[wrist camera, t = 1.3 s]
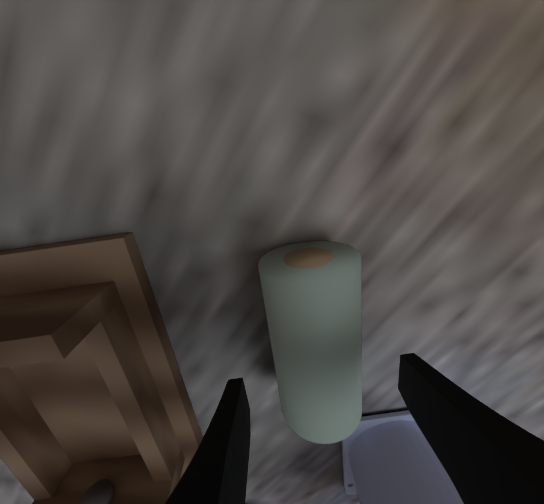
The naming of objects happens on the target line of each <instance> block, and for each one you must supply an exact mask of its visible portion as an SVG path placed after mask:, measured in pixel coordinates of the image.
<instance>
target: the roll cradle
mask: <svg viewBox="0 0 544 504" xmlns="http://www.w3.org/2000/svg"><path fill="white" fill-rule="evenodd" d="M202 439H203V437H202V434H201V431H200V428H199V425H198V422H197V419H196V416H195V413H194V410H193V408H192V405H191V402H190V399H189V396H188V393H187V390H186V387H185V384H184V381H183V379H182V376H181V373H180V370H179V367H178V364H177V361H176V358H175V355H174V352H173V349H172V347H171V344H170V341H169V338H168V335H167V332H166V329H165V326H164V323H163V320H162V318H161V315H160V312H159V309H158V306H157V303H156V300H155V297H154V294H153V291H152V289H151V286H150V283H149V280H148V277H147V274H146V271H145V268H144V265H143V262H142V260H141V257H140V254H139V251H138V248H137V245H136V242H135V239H134V236H133V233H125V234H118V235H111V236H104V237H97V238H90V239H83V240H76V241H69V242H62V243H55V244H48V245H41V246H34V247H27V248H20V249H13V250H6V251H0V458H1V459H2V461H3V462H4V463H5V464H6V466H7V467H8V468H9V469H10V471H11V472H12V473H13V474H14V475H15V477H16V478H17V479H18V480H19V482H20V483H21V484H22V485H23V487H24V488H25V489H26V490H27V491H28V493H29V494H30V495H31V496H32V498H33V499H34V502H33V503H32V504H165V502H166V501H167V499H168V498H169V496H170V494H171V493H172V491H173V490H174V488H175V487H176V485H177V483H178V482H179V480H180V479H181V477H182V475H183V474H184V472H185V470H186V468H187V467H188V465H189V463H190V461H191V460H192V458H193V456H194V454H195V452H196V450H197V448H198V447H199V445H200V443H201V441H202Z"/></svg>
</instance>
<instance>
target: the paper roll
mask: <svg viewBox="0 0 544 504" xmlns="http://www.w3.org/2000/svg"><path fill="white" fill-rule="evenodd" d="M258 269H259V275H260V281H261V287H262V293H263V299H264V305H265V311H266V317H267V323H268V329H269V335H270V341H271V347H272V353H273V359H274V365H275V371H276V377H277V383H278V389H279V395H280V401H281V407H282V412H283V416H284V418H285V421H286V422H287V424H288V425H289V427H290V428H291V429H292V430H293V431H294V432H295V433H296V434H297V435H299V436H300V437H302V438H304V439H305V440H308V441H310V442H314V443H318V444H331V443H336V442H339V441H342V440H344V439H346V438H347V437H349V436H350V435H351V434H352V433H353V432H354V431H355V430H356V428H357V427H358V425H359V423H360V420H361V416H362V301H361V255H360V253H359V252H358V251H357V250H356V249H355V248H353V247H351V246H349V245H346V244H342V243H338V242H331V241H309V242H302V243H295V244H288V245H284V246H281V247H278V248H275V249H273V250H271V251H269V252H268V253H266V254H265V255H264V256H262V257H261V259H260V260H259V262H258Z"/></svg>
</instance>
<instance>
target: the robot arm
mask: <svg viewBox="0 0 544 504" xmlns="http://www.w3.org/2000/svg"><path fill="white" fill-rule="evenodd" d="M398 389H399V391H400V393H401V395H402V397H403V400H404V402H405V404H406V406H407V408H408V410H406V411H399V412H392V413H385V414H378V415H371V416H364V417H361V420H360V423H359V425H358V427H357V428H356V430H355V431H354V432H353V433H352V434H351V435H350V436H349V437H347V438H346V439H344V440H342V459H343V479H344V490H345V493H346V494H347V495H354V494H357V496H358V499H359V503H360V504H544V441H543V440H542V439H540V438H538V437H536V436H534V435H533V434H531V433H529V432H528V431H526V430H524V429H523V428H521V427H519V426H518V425H516V424H514V423H513V422H511V421H509V420H508V419H506V418H505V417H503V416H501V415H500V414H498V413H497V412H495V411H494V410H492V409H491V408H489V407H488V406H486V405H485V404H483V403H482V402H480V401H479V400H477V399H476V398H474V397H473V396H471V395H470V394H468V393H467V392H466V391H464V390H463V389H461V388H460V387H459V386H457V385H456V384H454V383H453V382H452V381H450V380H449V379H448V378H446V377H445V376H444V375H442V374H441V373H440V372H438V371H437V370H436V369H434V368H433V367H432V366H430V365H429V364H428V363H426V362H425V361H424V360H422V359H421V358H420V357H419V356H417V355H416V354H414V353H410V354H403V355H400V367H399V382H398ZM249 447H250V407H249V403H248V399H247V394H246V390H245V386H244V382H243V378H237V379H230V380H228V382H227V384H226V387H225V390H224V392H223V395H222V397H221V400H220V402H219V405H218V407H217V409H216V412H215V414H214V416H213V418H212V420H211V422H210V425H209V427H208V429H207V431H206V433H205V435H204V437H203V439H202V441H201V443H200V445H199V447H198V448H197V450H196V452H195V454H194V456H193V458H192V460H191V461H190V463H189V465H188V467H187V468H186V470H185V472H184V474H183V475H182V477H181V479H180V480H179V482H178V483H177V485H176V487H175V488H174V490H173V491H172V493H171V494H170V496H169V498H168V499H167V501H166V502H165V504H245V498H246V486H247V473H248V460H249Z"/></svg>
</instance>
